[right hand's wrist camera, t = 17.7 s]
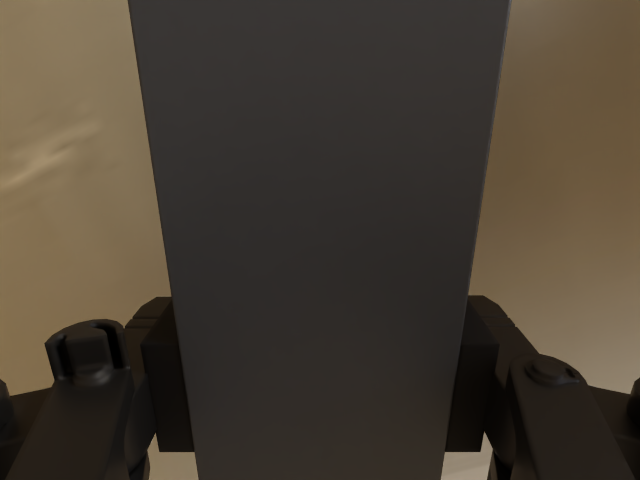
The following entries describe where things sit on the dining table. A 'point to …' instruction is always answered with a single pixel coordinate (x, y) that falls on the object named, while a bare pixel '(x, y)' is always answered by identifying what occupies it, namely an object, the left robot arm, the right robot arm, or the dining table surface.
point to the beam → (319, 221)
